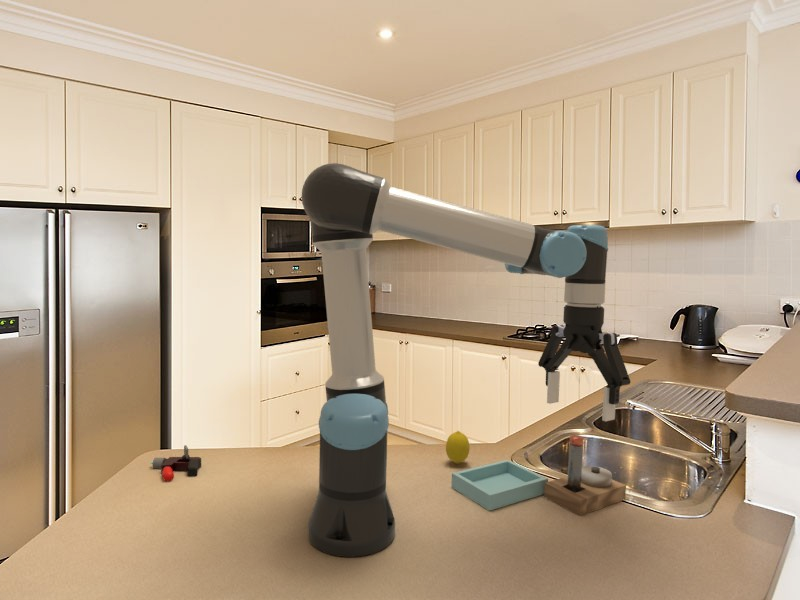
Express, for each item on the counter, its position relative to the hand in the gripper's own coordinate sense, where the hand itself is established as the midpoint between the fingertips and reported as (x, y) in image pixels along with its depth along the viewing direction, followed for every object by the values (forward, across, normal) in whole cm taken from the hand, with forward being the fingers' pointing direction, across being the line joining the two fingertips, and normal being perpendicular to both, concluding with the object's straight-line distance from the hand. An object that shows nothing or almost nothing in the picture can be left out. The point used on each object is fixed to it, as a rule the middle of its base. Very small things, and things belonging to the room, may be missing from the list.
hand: (579, 410), depth 106 cm
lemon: (+19, +27, +9) cm, 34 cm away
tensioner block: (+19, 0, -3) cm, 19 cm away
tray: (+19, +12, +10) cm, 24 cm away
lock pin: (+19, 0, 0) cm, 19 cm away
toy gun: (+19, +53, +68) cm, 88 cm away
